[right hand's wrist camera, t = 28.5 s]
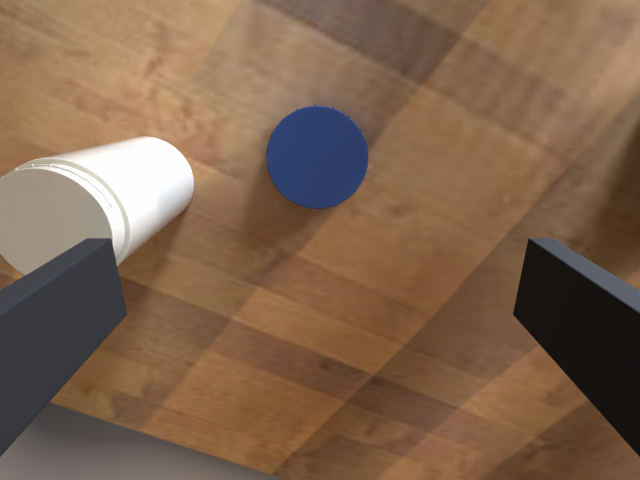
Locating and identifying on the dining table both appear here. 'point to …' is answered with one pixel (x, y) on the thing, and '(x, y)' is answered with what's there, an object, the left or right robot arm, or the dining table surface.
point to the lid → (317, 157)
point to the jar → (92, 200)
